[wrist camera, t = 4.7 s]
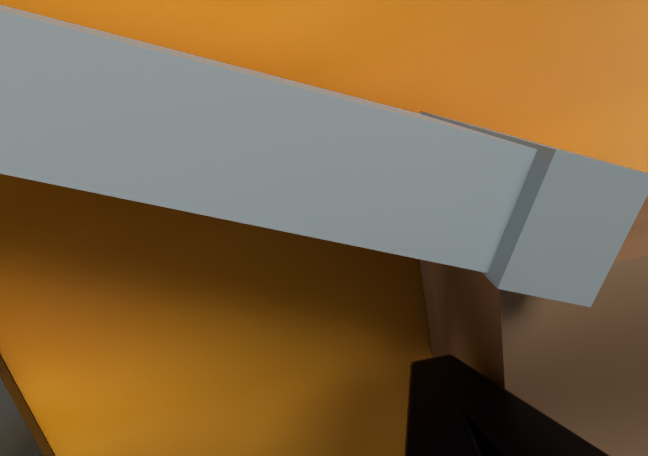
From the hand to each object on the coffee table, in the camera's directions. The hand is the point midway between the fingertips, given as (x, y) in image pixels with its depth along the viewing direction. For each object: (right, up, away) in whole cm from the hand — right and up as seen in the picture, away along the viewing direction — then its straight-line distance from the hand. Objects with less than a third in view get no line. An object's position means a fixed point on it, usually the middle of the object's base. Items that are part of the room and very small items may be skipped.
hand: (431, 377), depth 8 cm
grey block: (-5, +5, 0) cm, 7 cm away
